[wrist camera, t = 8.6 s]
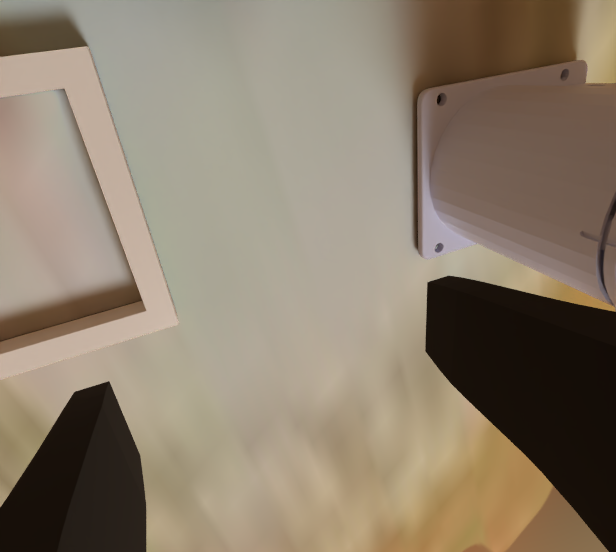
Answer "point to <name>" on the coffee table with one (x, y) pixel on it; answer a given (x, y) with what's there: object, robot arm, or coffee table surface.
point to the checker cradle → (122, 205)
